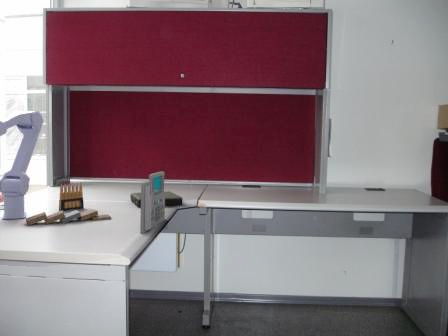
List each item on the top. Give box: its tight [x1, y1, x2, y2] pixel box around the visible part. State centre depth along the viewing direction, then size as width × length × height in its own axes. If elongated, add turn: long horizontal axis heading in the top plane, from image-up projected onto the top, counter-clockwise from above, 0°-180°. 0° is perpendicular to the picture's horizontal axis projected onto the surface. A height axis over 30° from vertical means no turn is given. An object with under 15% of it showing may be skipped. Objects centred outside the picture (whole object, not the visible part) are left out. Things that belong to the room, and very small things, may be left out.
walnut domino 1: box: [25, 211, 48, 227], centre depth 148 cm, size 5×2×7 cm
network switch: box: [130, 190, 183, 209], centre depth 195 cm, size 23×24×5 cm
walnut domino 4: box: [89, 214, 112, 222], centre depth 158 cm, size 5×2×7 cm
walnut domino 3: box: [76, 209, 99, 221], centre depth 157 cm, size 5×2×7 cm
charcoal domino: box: [58, 209, 81, 224], centre depth 153 cm, size 5×2×7 cm
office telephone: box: [139, 171, 166, 234], centre depth 147 cm, size 23×3×20 cm, turn 170°
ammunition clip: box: [58, 182, 84, 212], centre depth 175 cm, size 11×2×12 cm, turn 138°
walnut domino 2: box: [43, 210, 65, 225], centre depth 150 cm, size 5×2×7 cm
